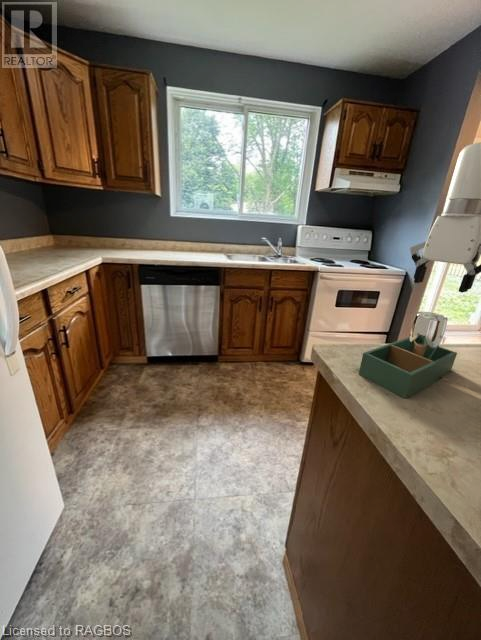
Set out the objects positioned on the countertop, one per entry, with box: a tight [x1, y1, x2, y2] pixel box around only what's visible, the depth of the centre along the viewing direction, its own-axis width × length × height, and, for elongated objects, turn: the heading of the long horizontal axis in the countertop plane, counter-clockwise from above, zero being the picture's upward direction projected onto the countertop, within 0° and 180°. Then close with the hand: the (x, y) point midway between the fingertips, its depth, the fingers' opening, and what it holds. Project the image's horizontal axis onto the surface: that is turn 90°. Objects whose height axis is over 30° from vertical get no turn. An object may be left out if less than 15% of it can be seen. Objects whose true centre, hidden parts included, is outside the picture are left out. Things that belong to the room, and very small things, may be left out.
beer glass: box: [409, 311, 449, 360], centre depth 70 cm, size 7×7×15 cm
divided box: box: [358, 336, 458, 400], centre depth 69 cm, size 22×12×6 cm, turn 122°
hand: (439, 286), depth 65 cm, fingers open, 9 cm apart
